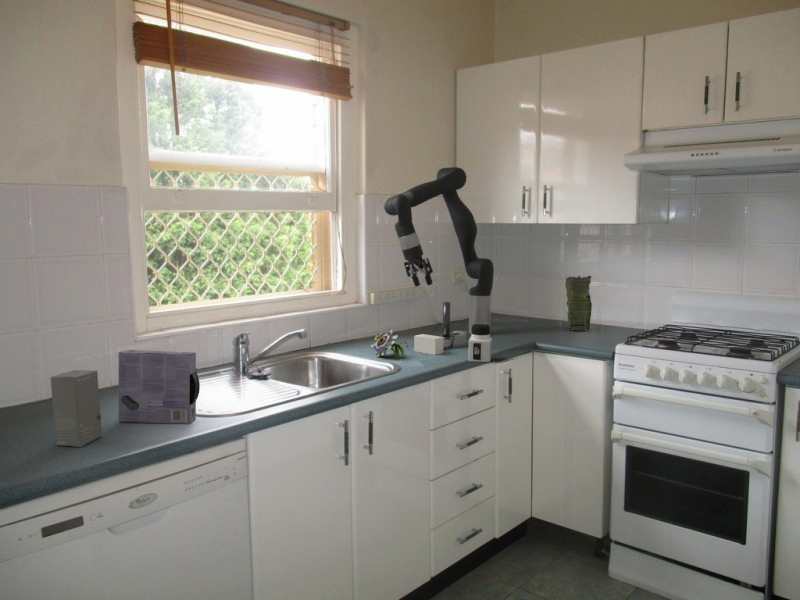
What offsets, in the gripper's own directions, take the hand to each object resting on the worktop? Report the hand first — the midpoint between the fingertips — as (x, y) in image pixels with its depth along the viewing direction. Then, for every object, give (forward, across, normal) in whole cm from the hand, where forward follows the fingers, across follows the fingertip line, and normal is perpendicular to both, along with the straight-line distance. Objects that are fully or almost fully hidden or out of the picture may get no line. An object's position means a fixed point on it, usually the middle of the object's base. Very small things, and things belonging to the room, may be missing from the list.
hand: (423, 285), depth 259 cm
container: (+28, -26, +5) cm, 39 cm away
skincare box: (-9, -46, +133) cm, 141 cm away
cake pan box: (-4, -40, +115) cm, 122 cm away
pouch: (+49, 0, -72) cm, 87 cm away
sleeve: (+27, -1, -5) cm, 28 cm away
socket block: (+23, -6, +12) cm, 26 cm away
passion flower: (+18, -5, +28) cm, 33 cm away
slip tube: (+26, -2, 0) cm, 26 cm away
